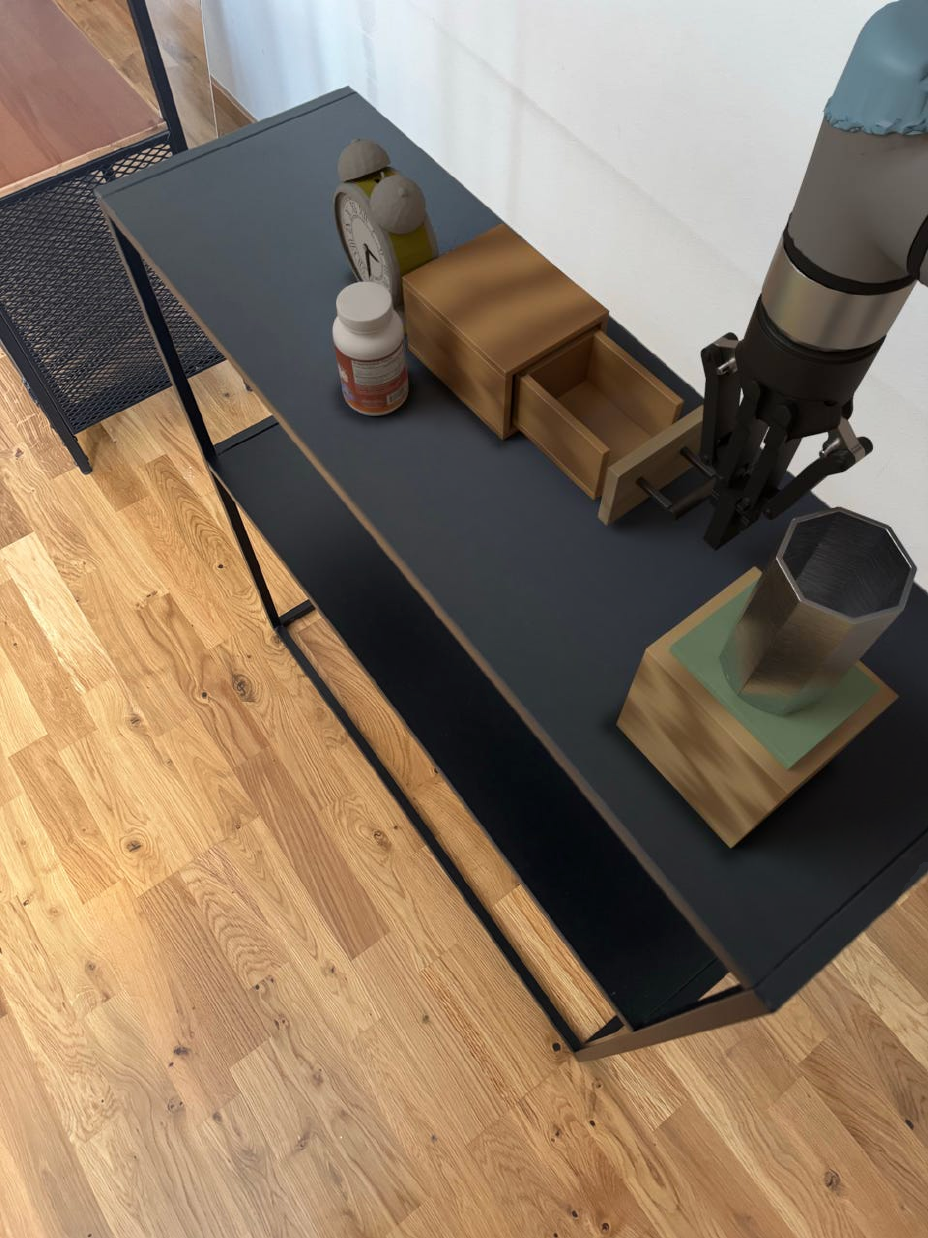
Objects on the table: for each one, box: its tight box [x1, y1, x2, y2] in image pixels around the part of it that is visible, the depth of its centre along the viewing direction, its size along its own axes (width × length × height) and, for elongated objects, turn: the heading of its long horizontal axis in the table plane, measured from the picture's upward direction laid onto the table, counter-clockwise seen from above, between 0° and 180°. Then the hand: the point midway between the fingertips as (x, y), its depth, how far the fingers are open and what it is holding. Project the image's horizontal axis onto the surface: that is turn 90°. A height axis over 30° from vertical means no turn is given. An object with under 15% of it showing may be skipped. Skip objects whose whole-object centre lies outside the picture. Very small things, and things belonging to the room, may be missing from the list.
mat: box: [669, 578, 881, 770], centre depth 55 cm, size 10×8×1 cm
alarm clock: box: [332, 137, 440, 335], centre depth 83 cm, size 12×7×15 cm, turn 33°
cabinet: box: [402, 222, 610, 441], centre depth 81 cm, size 15×12×9 cm
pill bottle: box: [332, 281, 409, 417], centre depth 78 cm, size 6×6×11 cm
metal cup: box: [719, 505, 918, 715], centre depth 49 cm, size 6×6×12 cm
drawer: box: [513, 326, 716, 527], centre depth 75 cm, size 18×10×7 cm, turn 38°
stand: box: [615, 566, 900, 849], centre depth 61 cm, size 12×10×13 cm
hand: (720, 536), depth 71 cm, fingers closed
